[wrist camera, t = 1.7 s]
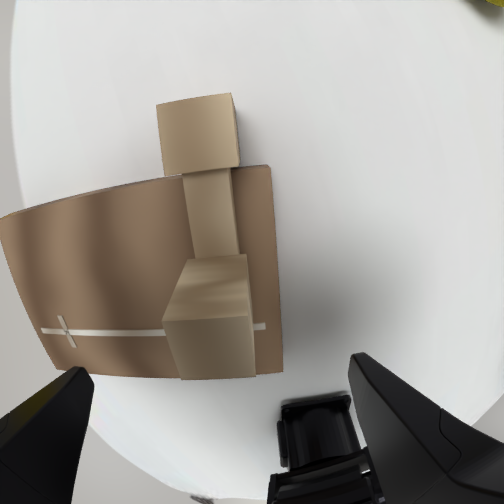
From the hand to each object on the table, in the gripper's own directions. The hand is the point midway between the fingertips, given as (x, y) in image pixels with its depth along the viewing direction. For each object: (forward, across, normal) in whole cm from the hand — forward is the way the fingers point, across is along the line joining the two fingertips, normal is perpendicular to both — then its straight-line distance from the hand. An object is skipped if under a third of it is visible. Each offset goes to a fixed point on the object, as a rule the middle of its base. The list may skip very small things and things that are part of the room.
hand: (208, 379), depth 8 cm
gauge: (+8, 0, +4) cm, 9 cm away
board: (+10, +7, +2) cm, 13 cm away
